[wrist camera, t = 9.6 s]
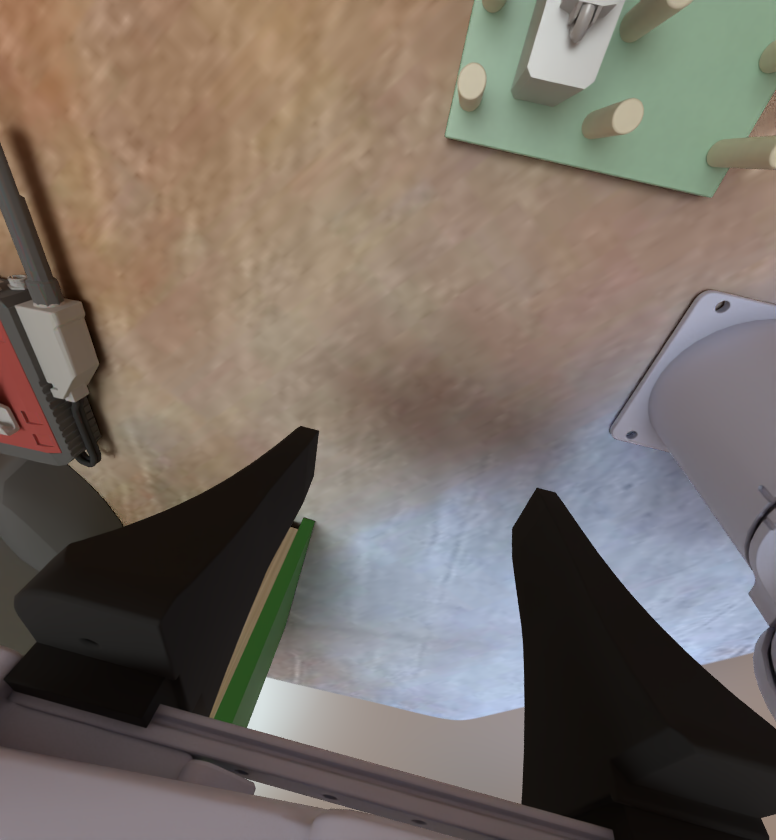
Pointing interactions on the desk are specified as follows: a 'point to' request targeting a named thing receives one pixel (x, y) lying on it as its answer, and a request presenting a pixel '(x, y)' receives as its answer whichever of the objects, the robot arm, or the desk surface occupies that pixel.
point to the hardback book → (262, 630)
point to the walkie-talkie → (42, 353)
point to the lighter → (564, 48)
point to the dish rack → (632, 93)
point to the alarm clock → (40, 529)
